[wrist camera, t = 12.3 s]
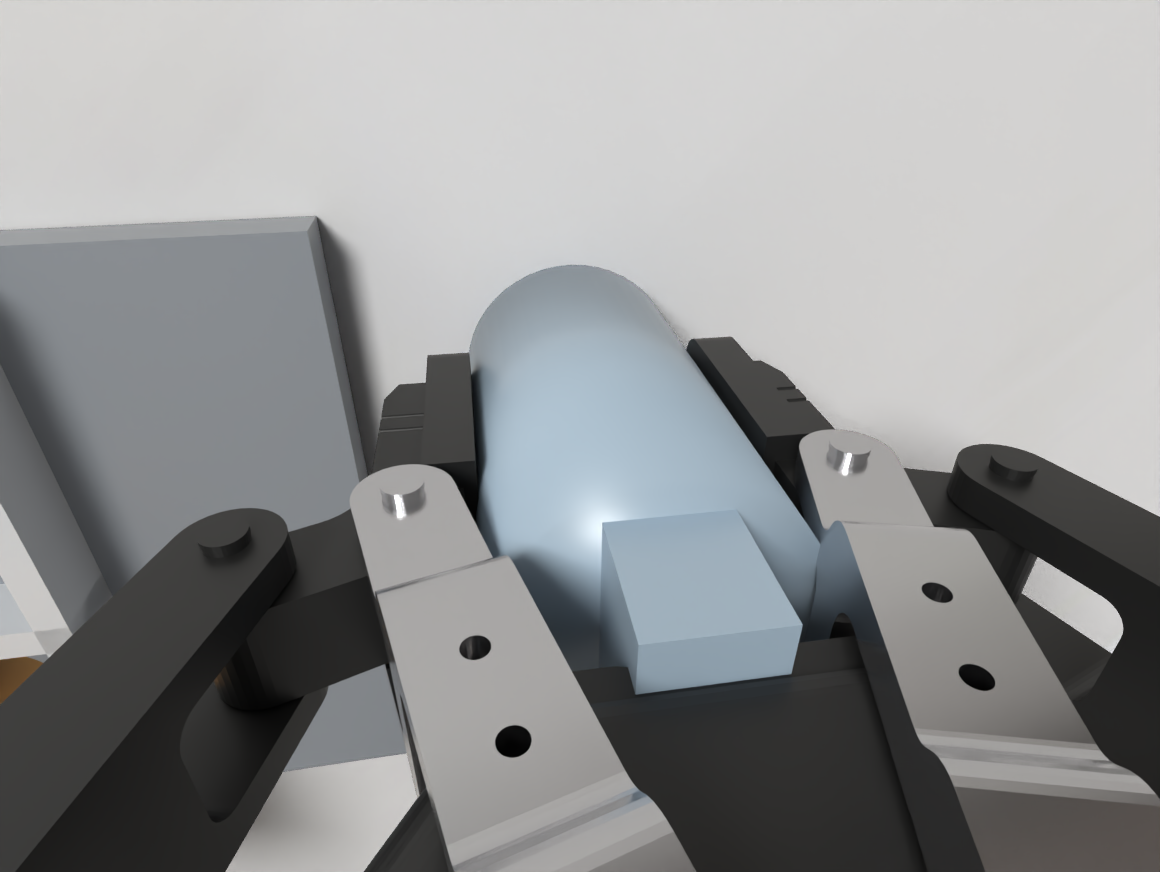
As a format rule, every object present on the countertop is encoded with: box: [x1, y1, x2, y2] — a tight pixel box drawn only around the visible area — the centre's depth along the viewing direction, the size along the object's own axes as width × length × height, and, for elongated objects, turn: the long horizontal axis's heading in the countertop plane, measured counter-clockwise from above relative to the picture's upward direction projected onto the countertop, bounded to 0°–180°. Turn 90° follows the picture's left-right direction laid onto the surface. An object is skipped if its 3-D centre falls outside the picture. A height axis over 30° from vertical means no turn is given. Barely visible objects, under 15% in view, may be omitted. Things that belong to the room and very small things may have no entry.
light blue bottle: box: [469, 265, 821, 695], centre depth 10 cm, size 4×4×9 cm
